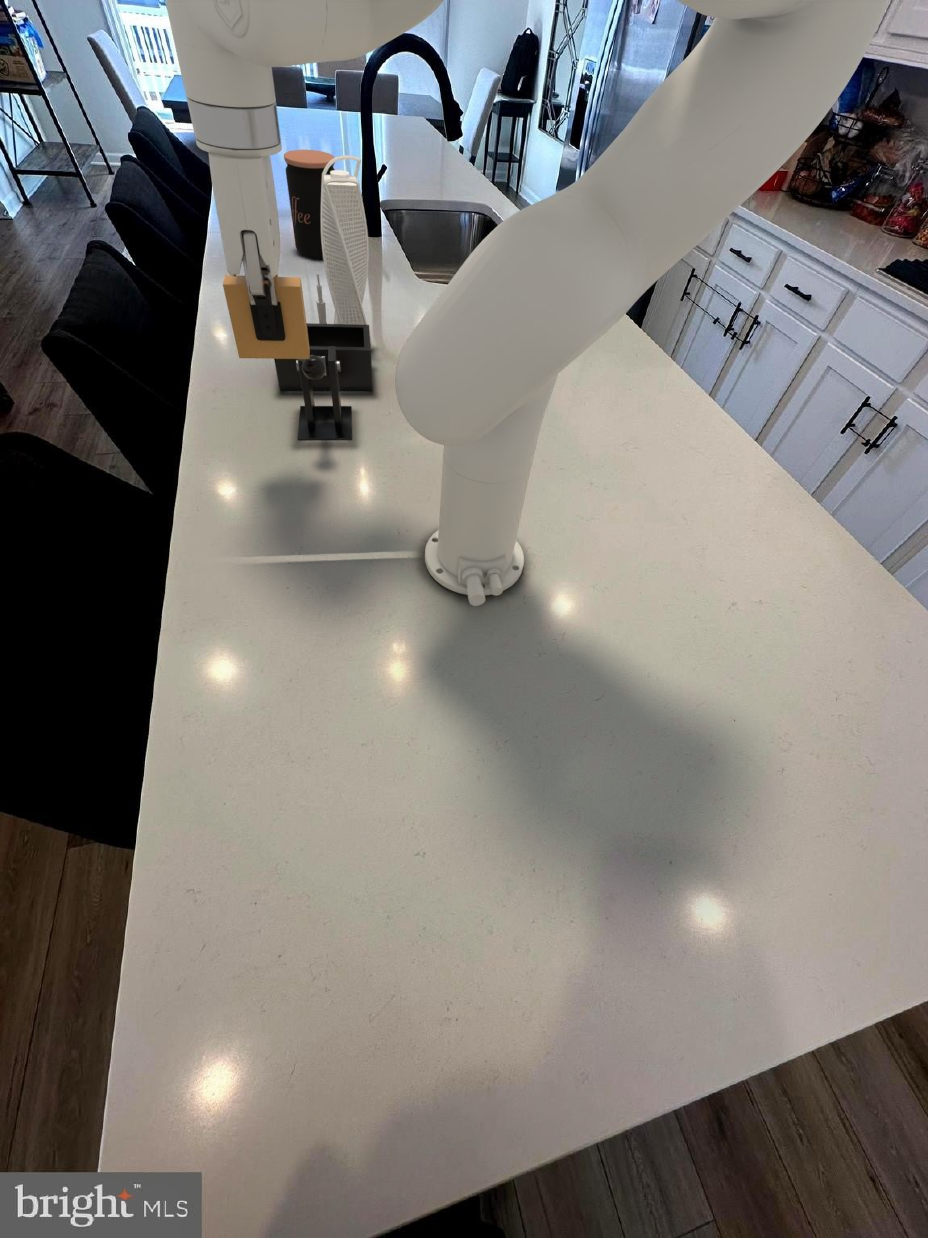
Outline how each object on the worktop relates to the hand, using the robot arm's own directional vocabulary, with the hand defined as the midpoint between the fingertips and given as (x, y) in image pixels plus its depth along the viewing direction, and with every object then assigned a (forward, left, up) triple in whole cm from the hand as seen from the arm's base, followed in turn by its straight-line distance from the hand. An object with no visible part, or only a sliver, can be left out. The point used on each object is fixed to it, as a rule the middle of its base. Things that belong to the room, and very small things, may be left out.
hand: (271, 331), depth 65 cm
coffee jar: (+85, -1, -20) cm, 87 cm away
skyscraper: (+37, -8, -20) cm, 42 cm away
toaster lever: (+6, -4, -9) cm, 12 cm away
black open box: (+25, -4, -19) cm, 32 cm away
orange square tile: (0, 0, -3) cm, 3 cm away
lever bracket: (+11, -4, -19) cm, 23 cm away
